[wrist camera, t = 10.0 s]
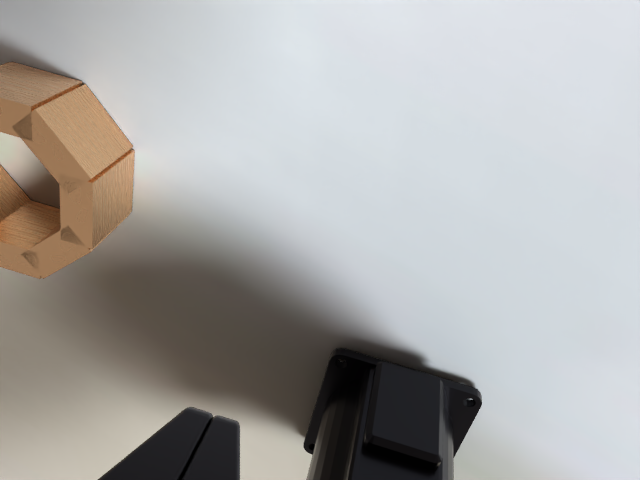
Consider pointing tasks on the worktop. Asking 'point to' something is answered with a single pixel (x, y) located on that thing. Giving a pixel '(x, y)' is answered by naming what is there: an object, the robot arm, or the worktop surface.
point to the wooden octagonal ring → (61, 171)
